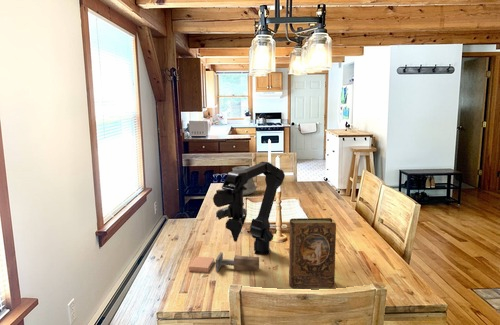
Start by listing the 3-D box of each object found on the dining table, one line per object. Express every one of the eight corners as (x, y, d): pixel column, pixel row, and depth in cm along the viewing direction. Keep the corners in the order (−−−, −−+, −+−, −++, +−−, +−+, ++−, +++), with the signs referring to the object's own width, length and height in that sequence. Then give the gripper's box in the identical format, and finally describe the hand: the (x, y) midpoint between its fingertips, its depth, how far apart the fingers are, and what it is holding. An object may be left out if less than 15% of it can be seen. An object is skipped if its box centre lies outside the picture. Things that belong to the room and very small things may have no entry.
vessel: (248, 199, 263) (248, 171, 260) (223, 195, 275) (222, 168, 272) (263, 192, 282) (263, 166, 278) (239, 189, 293) (239, 164, 290)
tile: (214, 257, 159) (196, 256, 161) (207, 267, 150) (188, 266, 151) (214, 262, 160) (196, 261, 161) (208, 273, 150) (189, 271, 151)
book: (290, 288, 137) (290, 223, 133) (288, 281, 142) (288, 218, 138) (334, 287, 137) (336, 222, 133) (330, 280, 143) (332, 217, 139)
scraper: (260, 265, 156) (260, 254, 155) (257, 274, 148) (257, 262, 147) (220, 263, 158) (220, 252, 158) (215, 271, 151) (215, 259, 150)
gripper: (221, 195, 165) (222, 229, 167) (212, 208, 147) (213, 245, 149) (246, 196, 163) (247, 229, 166) (240, 208, 145) (241, 246, 148)
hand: (237, 237), depth 157 cm, fingers open, 9 cm apart
